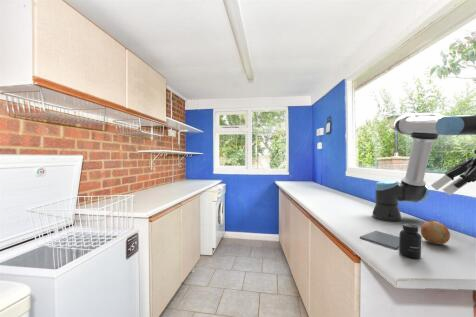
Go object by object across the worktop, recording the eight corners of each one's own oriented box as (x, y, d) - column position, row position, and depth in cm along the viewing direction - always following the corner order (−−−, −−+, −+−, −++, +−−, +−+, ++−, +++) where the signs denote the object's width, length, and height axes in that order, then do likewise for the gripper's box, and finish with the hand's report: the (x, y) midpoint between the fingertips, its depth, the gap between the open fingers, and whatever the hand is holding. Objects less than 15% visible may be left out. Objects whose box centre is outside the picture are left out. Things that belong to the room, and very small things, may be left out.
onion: (438, 249, 91) (438, 225, 91) (414, 240, 101) (415, 218, 101) (456, 247, 93) (456, 224, 93) (431, 238, 103) (431, 217, 103)
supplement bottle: (414, 261, 81) (414, 229, 81) (395, 253, 88) (395, 223, 88) (425, 257, 84) (425, 226, 84) (405, 250, 90) (405, 221, 90)
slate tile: (376, 232, 112) (376, 230, 112) (411, 241, 99) (411, 240, 99) (359, 238, 104) (359, 236, 104) (395, 249, 91) (395, 247, 91)
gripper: (532, 157, 64) (462, 203, 71) (487, 157, 86) (437, 192, 93) (506, 140, 67) (441, 186, 74) (468, 144, 89) (421, 179, 96)
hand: (439, 190), depth 84 cm, fingers open, 13 cm apart
